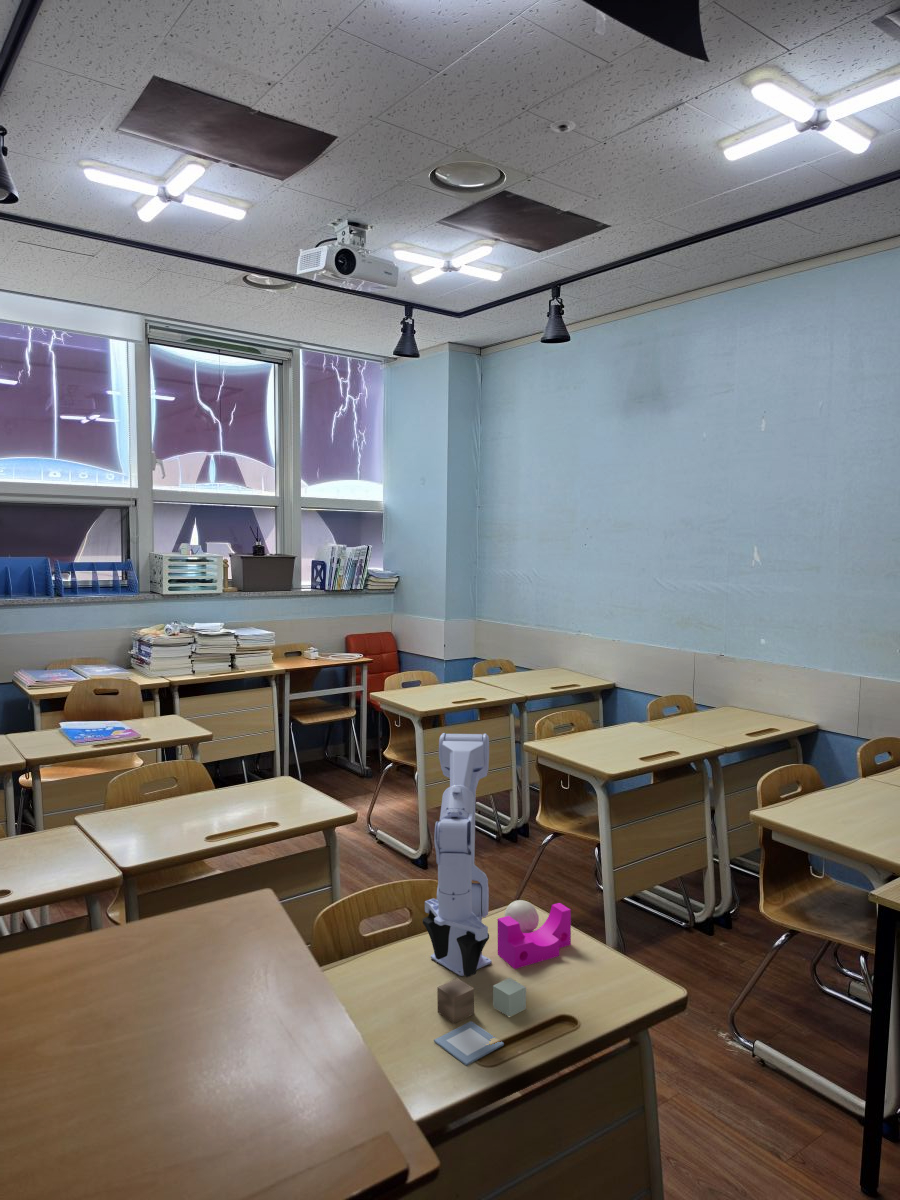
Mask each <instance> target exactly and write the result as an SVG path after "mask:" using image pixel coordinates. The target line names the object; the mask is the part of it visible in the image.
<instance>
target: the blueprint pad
mask: <svg viewBox="0 0 900 1200" xmlns="http://www.w3.org/2000/svg"><path fill="white" fill-rule="evenodd" d="M493 1036H494V1035H492V1034H491V1033H490V1032H488V1031H487V1030H485V1029H483V1028H482V1027H481V1026H479V1025H478V1024H476V1023H475V1022H474V1021H469V1022H466V1023H465V1024H463V1025H461V1026H459V1027H456V1028H455V1029H453V1030H450V1031H449V1032H447V1033H445V1034H442V1035H441V1036H439V1037H436V1038H435V1039H433V1042H434V1043H435V1044H436V1045H438V1046H439V1047H440V1048H442V1049H443V1050H444V1051H446V1052H448V1053H449V1054H450V1055H452V1056H453V1057H454V1058H456V1060H458V1061H459V1062H461V1063H462V1064H463V1065H464V1066H469V1065H470V1064H472V1063H474V1062H475V1061H477V1060H479V1059H481V1058H483V1057H485V1056H486V1055H488V1054H490V1053H492V1052H494V1051H495V1050H498V1049H500V1048H501V1047H503V1046H505V1043H504V1041H501V1042H497V1043H495V1044H492V1045H490V1044H489V1041H491V1040H490V1039H492V1038H496V1037H495V1036H494V1037H493ZM486 1044H489V1045H486Z"/></svg>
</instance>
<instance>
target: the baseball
mask: <svg viewBox="0 0 900 1200" xmlns="http://www.w3.org/2000/svg"><path fill="white" fill-rule="evenodd" d="M506 916H510V917H511V918H513V919H514V920H516V921H517V922H518V923H519V924H520V929H521V931H522V933H531V932H534V931H535V929H536V930H537V927H538V926H539V921H540V919H539V918H540V916H539V914H538V912H537V910H536V907H534V905H533V904H532V903H531V902H529V901H526V900H522V899H518V900H514V901H512V902H511V903H510V904H509V903H508V906H507V907H506V909H505V912H504V917H506Z"/></svg>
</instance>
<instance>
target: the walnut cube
mask: <svg viewBox="0 0 900 1200" xmlns="http://www.w3.org/2000/svg"><path fill="white" fill-rule="evenodd" d="M436 990H437V995H436V996H437V1012H438V1013H439V1014H440V1015H441V1016H443V1017H444V1018H446V1019H447V1020H449V1021H450V1022H451V1023H453V1024H456V1023H459V1022H461V1021H462V1020H465V1019H466V1018H468V1017H470V1016H473V1015H474V1014H475V988H474V987H472V985H471V986H470V985H469V984H467V983H466V982H464V981H463V980H461V979H459V978H458V977H457V978H454V979H452V980H450V981H448V982H445V983H443V984H441V985H438V986H437V989H436Z"/></svg>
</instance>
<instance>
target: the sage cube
mask: <svg viewBox="0 0 900 1200" xmlns="http://www.w3.org/2000/svg"><path fill="white" fill-rule="evenodd" d="M492 1001H493V1003H492V1006H493V1007H494V1008H493V1009H495V1010H496V1009H497V1011H498V1010H499V1011H498V1012H500V1011H501V1012H502V1013H501V1012H500V1013H501V1014H503V1013H504V1014H506V1015H507V1016H506V1015H505V1016H506V1017H508V1016H511V1017H513V1016H515V1015H517V1014H518V1013H520V1012H522V1011H524V1009H525V1010H526V1007H527V1006H526V1005H527V987H526V986H525V985H523V984H521V983H520V982H518V981H516V980H514V979H513V978H511V977H508V978H506V979H504V980H502V981H500V982H498V983H496V984H494V985H492ZM504 1014H503V1015H504ZM514 1014H515V1015H514ZM512 1015H513V1016H512Z"/></svg>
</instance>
